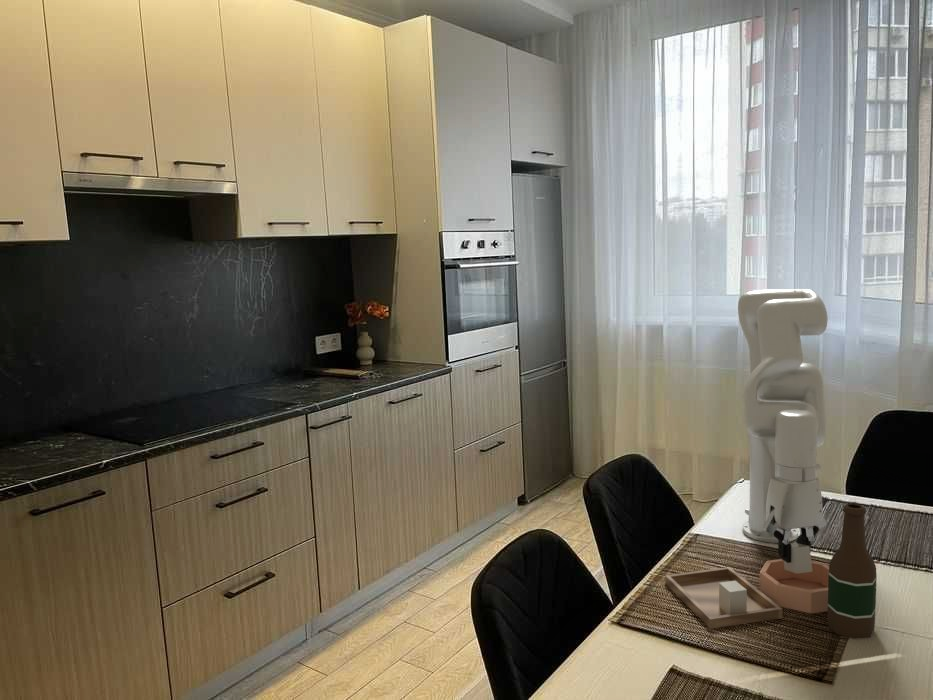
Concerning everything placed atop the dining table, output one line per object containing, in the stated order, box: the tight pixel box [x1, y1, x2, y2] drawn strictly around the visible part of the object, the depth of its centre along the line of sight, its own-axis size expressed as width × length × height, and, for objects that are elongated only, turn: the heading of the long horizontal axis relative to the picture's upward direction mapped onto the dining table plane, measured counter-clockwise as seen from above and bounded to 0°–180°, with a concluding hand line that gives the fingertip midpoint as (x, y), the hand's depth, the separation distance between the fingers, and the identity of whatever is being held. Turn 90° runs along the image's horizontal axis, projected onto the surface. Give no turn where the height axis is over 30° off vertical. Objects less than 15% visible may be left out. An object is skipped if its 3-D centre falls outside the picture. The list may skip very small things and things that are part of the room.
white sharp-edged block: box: [719, 581, 747, 614], centre depth 140 cm, size 4×4×5 cm
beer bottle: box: [826, 503, 878, 640], centre depth 130 cm, size 8×8×24 cm
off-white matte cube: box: [784, 542, 813, 574], centre depth 146 cm, size 4×4×5 cm
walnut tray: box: [664, 566, 783, 629], centre depth 144 cm, size 19×15×2 cm
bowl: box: [759, 558, 829, 614], centre depth 145 cm, size 15×15×5 cm
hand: (794, 558), depth 146 cm, fingers closed on off-white matte cube, 3 cm apart
